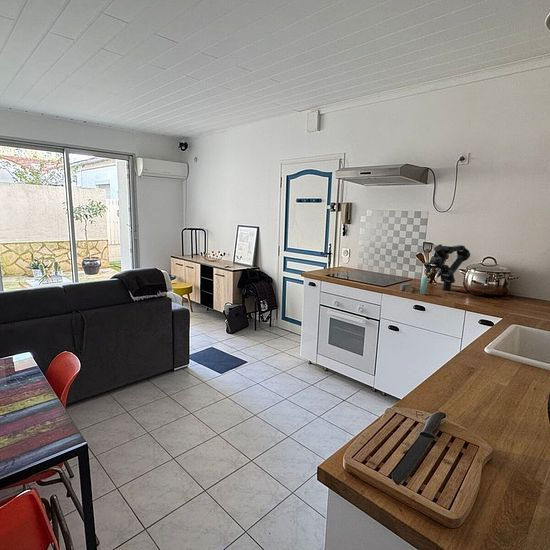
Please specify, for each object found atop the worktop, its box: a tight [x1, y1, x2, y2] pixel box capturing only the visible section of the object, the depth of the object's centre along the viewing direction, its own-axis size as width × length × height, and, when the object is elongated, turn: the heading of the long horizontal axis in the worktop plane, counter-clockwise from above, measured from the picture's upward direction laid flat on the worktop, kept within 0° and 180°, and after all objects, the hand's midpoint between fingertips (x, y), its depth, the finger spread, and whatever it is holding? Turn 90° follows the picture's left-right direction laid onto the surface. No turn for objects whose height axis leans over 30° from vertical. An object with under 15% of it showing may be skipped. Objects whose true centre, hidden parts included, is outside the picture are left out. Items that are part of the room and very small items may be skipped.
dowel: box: [419, 276, 428, 295], centre depth 258 cm, size 4×4×12 cm
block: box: [404, 285, 421, 294], centre depth 267 cm, size 6×9×3 cm, turn 122°
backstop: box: [399, 283, 412, 291], centre depth 272 cm, size 2×10×4 cm, turn 122°
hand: (431, 275), depth 261 cm, fingers open, 9 cm apart
